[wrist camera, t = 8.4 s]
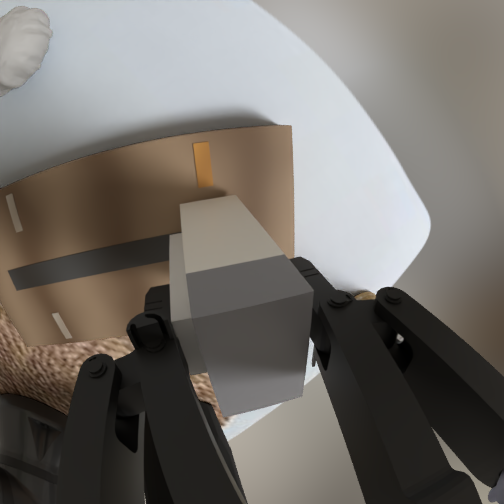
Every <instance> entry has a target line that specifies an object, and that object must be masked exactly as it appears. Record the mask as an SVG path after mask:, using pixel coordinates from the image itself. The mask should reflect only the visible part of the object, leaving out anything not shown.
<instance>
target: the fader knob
mask: <svg viewBox="0 0 504 504" xmlns="http://www.w3.org/2000/svg"><path fill="white" fill-rule="evenodd" d="M180 216H181V229H182V241H183V252H184V261H185V271H186V280H187V288H188V296H189V304H190V311H191V318H192V322H193V326H194V329H195V333H196V336H197V339H198V343H199V346H200V349H201V353H202V356H203V359H204V362H205V366H206V369H207V372H208V375H209V378H210V381H211V384H212V387H213V390H214V393H215V396H216V398H217V401H218V404H219V407H220V410H221V412H222V415H223V417H227V416H232V415H237V414H241V413H245V412H249V411H253V410H257V409H261V408H264V407H268V406H272V405H275V404H278V403H282V402H285V401H288V400H291V399H295V398H298V397H301V396H302V393H303V387H304V380H305V372H306V364H307V356H308V348H309V338H310V329H311V318H312V307H313V295H314V290H313V289H312V288H311V287H310V285H309V284H308V283H307V282H306V280H305V279H304V278H303V277H302V275H301V274H300V273H299V272H298V270H297V269H296V268H295V267H294V265H293V264H292V263H291V262H290V260H289V259H288V258H287V257H286V255H285V254H284V253H283V252H282V250H281V249H280V248H279V247H278V246H277V244H276V243H275V242H274V241H273V239H272V238H271V237H270V236H269V234H268V233H267V232H266V231H265V230H264V228H263V227H262V226H261V225H260V224H259V222H258V221H257V220H256V219H255V217H254V216H253V215H252V214H251V213H250V211H249V210H248V209H247V208H246V207H245V205H244V204H243V203H242V202H241V201H240V199H239V198H238V197H237V196H236V195H231V196H225V197H219V198H212V199H206V200H201V201H195V202H189V203H184V204H180Z"/></svg>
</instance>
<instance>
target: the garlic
mask: <svg viewBox="0 0 504 504" xmlns="http://www.w3.org/2000/svg"><path fill="white" fill-rule="evenodd" d="M49 26H50V20H49V17H48V15H47V14H46V13H45V12H44V11H43V10H41V9H38V8H31V9H30V8H28V7H25V6H18V7H15V8H13V9H12V10H11V11H9V12H8V13H7V14H6V15H4V16H3V17H1V18H0V97H1V96H3V95H5V94H7V93H8V92H9V91H10V90H12V89H13V88H18V87H21V86H22V85H23V84H24V83H25V82H26V81H27V80H28V79H29V78H30V77H31V76H32V75H33V74H34V73H35V72H36V71H37V70H38V69H40V68H41V62H42V60H43V58H44V56H45V54H46V52H47V50H48V47H49V40H50V38H51V37H52V35H53V31H52V30H51V29H49Z"/></svg>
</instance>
